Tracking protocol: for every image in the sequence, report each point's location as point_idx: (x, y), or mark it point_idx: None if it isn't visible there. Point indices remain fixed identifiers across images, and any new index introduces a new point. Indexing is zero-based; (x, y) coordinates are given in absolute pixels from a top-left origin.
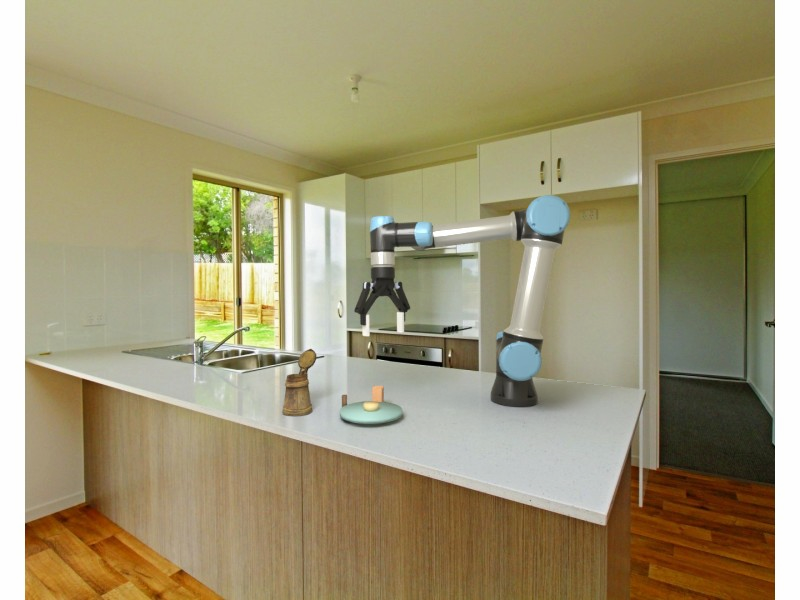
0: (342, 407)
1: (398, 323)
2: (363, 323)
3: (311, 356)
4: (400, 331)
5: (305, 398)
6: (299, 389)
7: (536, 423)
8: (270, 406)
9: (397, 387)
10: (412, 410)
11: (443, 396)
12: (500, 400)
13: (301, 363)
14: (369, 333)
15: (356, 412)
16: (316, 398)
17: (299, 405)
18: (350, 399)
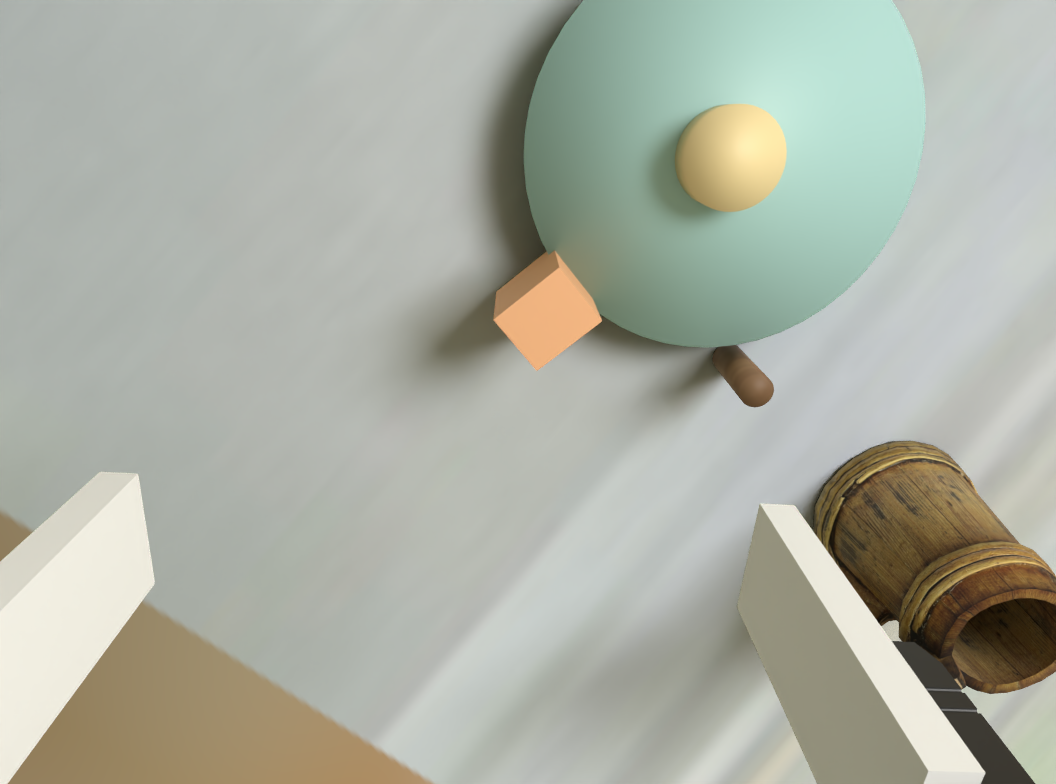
0: (807, 314)
1: (73, 648)
2: (931, 667)
3: None
4: (137, 521)
5: (934, 496)
6: (1003, 535)
7: None
8: None
9: (160, 543)
10: (413, 94)
11: (19, 190)
12: None
13: None
14: (772, 526)
15: (828, 171)
16: (666, 637)
17: (956, 479)
18: (547, 518)
